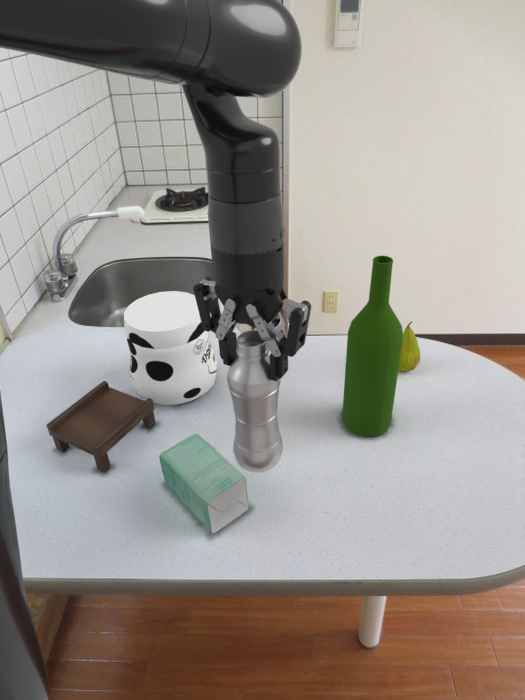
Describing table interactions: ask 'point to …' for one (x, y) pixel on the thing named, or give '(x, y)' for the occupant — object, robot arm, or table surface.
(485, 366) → the table surface
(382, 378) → the wine bottle
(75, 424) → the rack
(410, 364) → the fruit
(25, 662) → the robot arm
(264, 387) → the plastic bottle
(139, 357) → the milk container
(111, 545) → the table surface
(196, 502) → the box
